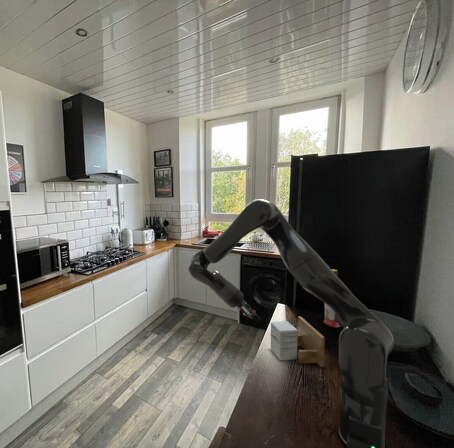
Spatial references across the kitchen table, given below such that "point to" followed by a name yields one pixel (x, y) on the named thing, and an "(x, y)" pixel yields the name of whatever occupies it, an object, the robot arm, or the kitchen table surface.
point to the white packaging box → (284, 340)
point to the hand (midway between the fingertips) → (259, 320)
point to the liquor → (331, 314)
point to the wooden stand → (310, 343)
